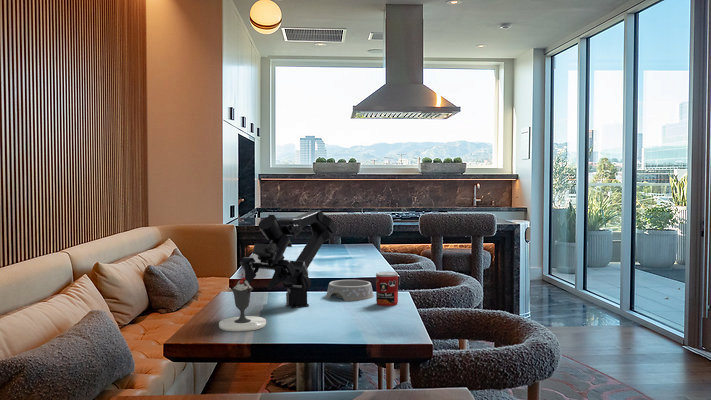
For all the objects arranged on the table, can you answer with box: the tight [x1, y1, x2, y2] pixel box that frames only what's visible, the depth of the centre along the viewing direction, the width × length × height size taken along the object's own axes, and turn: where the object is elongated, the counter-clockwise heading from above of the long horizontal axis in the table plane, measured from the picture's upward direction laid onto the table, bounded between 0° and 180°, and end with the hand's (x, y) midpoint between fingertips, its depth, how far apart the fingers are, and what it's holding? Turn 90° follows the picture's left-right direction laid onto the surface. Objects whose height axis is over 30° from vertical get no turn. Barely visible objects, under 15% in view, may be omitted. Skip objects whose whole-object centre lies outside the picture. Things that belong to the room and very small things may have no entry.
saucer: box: [218, 315, 267, 332], centre depth 174 cm, size 14×14×1 cm
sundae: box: [230, 273, 254, 323], centre depth 174 cm, size 7×7×15 cm
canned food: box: [375, 271, 399, 307], centre depth 204 cm, size 8×8×11 cm
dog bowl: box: [325, 279, 375, 302], centre depth 219 cm, size 17×18×5 cm
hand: (256, 288), depth 181 cm, fingers open, 9 cm apart
